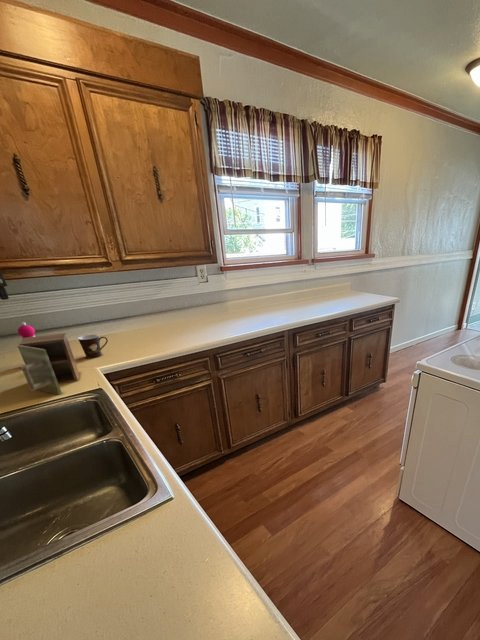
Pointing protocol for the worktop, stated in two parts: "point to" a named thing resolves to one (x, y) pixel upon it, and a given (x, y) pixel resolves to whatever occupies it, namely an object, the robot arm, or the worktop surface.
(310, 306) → the worktop surface
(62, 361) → the cupboard
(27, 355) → the cupboard door
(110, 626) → the worktop surface
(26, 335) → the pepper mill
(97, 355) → the coffee mug
